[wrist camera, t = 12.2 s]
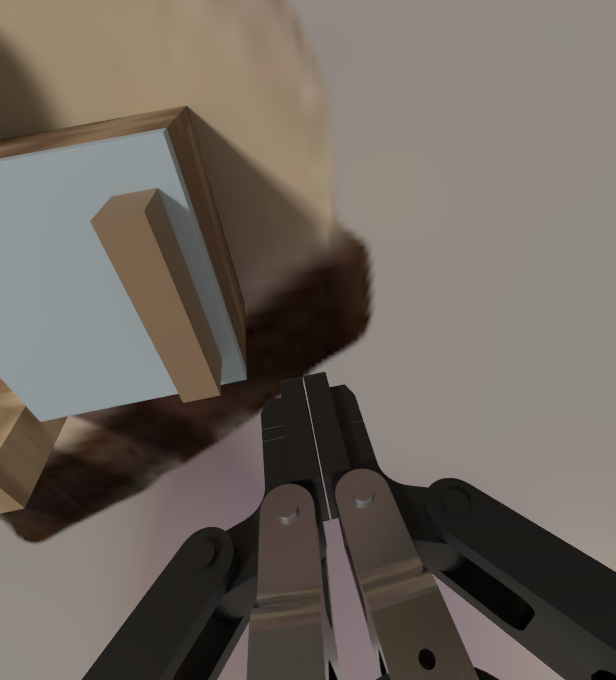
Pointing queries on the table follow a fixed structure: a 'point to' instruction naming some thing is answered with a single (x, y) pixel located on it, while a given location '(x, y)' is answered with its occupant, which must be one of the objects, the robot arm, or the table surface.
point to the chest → (192, 175)
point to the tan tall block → (22, 449)
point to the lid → (107, 281)
